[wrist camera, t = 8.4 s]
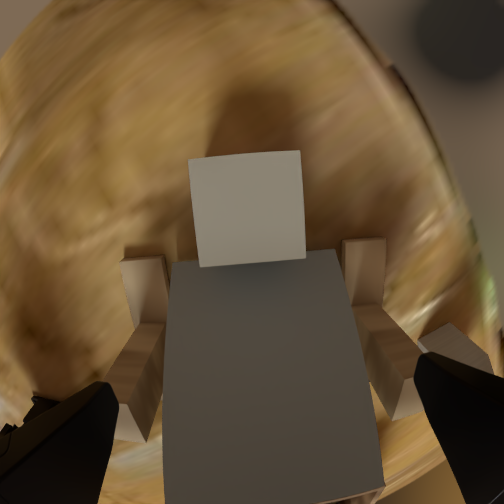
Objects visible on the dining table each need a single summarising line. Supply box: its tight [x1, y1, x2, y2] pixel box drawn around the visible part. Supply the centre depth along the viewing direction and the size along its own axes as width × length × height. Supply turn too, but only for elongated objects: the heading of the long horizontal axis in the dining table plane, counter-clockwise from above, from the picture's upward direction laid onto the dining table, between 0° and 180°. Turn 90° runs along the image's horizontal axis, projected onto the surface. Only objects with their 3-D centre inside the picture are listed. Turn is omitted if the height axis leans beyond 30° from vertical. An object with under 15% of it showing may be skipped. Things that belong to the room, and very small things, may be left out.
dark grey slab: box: [162, 249, 384, 504], centre depth 15 cm, size 14×10×5 cm
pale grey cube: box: [188, 150, 306, 267], centre depth 15 cm, size 5×5×5 cm
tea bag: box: [418, 322, 494, 375], centre depth 17 cm, size 4×7×10 cm, turn 20°
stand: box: [103, 237, 424, 443], centre depth 15 cm, size 12×18×9 cm
